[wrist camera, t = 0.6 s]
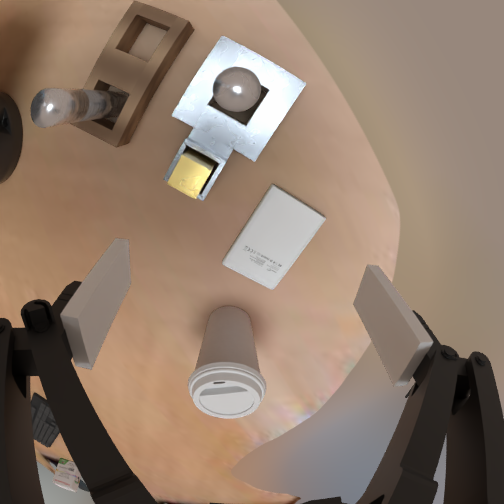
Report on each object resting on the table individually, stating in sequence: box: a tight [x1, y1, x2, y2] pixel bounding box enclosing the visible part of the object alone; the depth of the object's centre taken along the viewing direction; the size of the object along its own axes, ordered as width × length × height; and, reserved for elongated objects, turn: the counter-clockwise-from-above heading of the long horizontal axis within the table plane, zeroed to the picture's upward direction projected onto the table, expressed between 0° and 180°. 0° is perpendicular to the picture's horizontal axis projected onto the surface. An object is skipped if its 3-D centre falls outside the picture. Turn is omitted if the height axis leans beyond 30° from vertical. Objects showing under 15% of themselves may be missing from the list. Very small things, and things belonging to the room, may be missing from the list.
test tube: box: [31, 88, 128, 128], centre depth 25 cm, size 3×3×16 cm
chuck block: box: [163, 36, 306, 201], centre depth 32 cm, size 10×16×5 cm, turn 148°
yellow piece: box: [167, 148, 216, 199], centre depth 31 cm, size 3×3×6 cm
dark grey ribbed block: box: [31, 393, 60, 447], centre depth 64 cm, size 35×11×2 cm, turn 140°
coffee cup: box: [188, 306, 266, 418], centre depth 40 cm, size 10×10×15 cm
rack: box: [70, 1, 194, 147], centre depth 29 cm, size 16×7×4 cm, turn 148°
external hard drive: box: [222, 184, 326, 290], centre depth 40 cm, size 2×8×12 cm
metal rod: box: [213, 67, 261, 112], centre depth 25 cm, size 3×3×16 cm
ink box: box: [53, 458, 81, 492], centre depth 71 cm, size 8×5×12 cm, turn 90°
